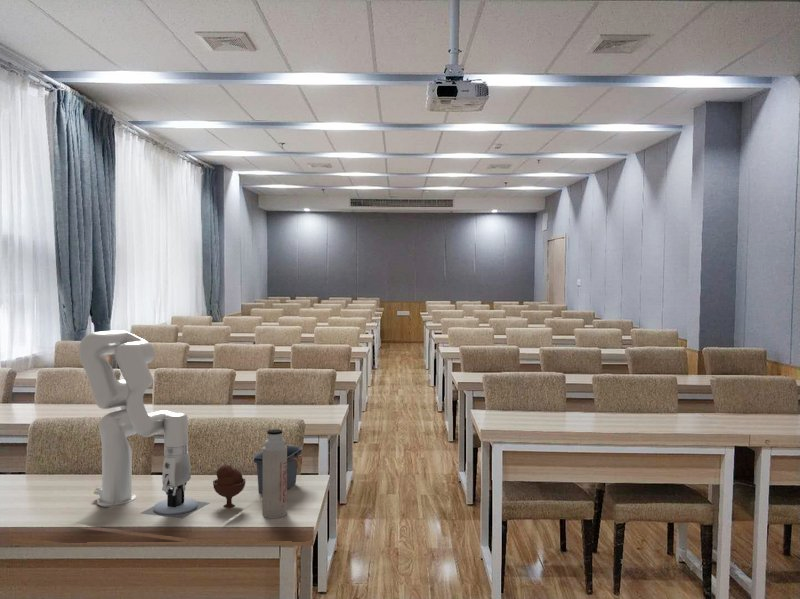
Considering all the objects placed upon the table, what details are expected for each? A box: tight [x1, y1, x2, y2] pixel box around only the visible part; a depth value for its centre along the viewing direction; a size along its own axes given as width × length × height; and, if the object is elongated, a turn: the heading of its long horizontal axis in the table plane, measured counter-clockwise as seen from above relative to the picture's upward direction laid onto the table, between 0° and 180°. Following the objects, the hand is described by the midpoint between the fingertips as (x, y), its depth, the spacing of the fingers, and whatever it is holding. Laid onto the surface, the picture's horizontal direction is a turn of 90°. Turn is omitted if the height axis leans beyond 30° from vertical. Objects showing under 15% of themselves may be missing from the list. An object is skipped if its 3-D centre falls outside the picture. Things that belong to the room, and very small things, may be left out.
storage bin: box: [252, 444, 303, 495], centre depth 249 cm, size 21×16×14 cm
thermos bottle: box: [261, 428, 288, 519], centre depth 223 cm, size 8×8×28 cm
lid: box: [153, 488, 198, 515], centre depth 225 cm, size 14×14×6 cm
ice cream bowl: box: [212, 464, 246, 509], centre depth 227 cm, size 11×11×15 cm
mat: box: [140, 500, 210, 519], centre depth 225 cm, size 16×16×1 cm
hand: (175, 504), depth 225 cm, fingers closed on lid, 3 cm apart
